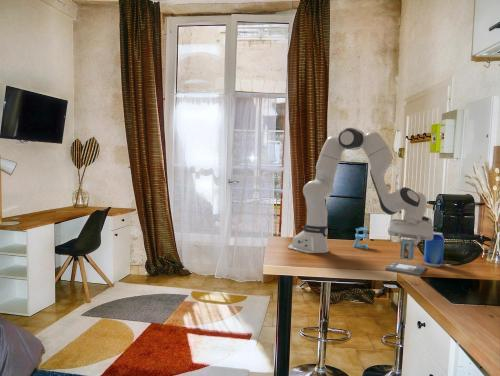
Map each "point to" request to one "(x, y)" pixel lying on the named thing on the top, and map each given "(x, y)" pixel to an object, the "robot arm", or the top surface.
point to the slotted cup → (403, 248)
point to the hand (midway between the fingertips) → (407, 244)
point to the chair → (360, 237)
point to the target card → (406, 268)
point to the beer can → (434, 250)
